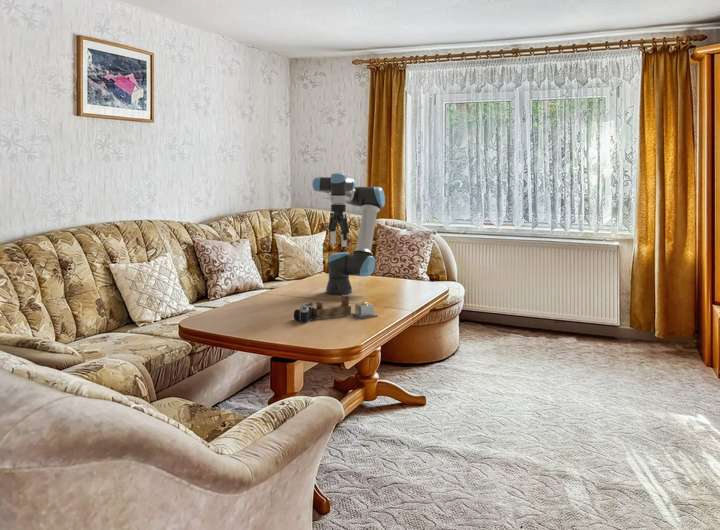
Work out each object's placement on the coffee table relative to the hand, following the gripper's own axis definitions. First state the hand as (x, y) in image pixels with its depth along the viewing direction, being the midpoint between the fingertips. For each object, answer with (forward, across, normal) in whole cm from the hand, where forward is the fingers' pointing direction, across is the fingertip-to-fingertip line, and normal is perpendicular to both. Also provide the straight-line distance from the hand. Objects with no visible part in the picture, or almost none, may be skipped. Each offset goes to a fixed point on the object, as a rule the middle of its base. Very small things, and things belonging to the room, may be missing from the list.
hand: (338, 245), depth 298 cm
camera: (+32, +21, -28) cm, 47 cm away
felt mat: (+32, +26, +2) cm, 41 cm away
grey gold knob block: (+31, +26, +2) cm, 41 cm away
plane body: (+32, +20, -13) cm, 40 cm away
